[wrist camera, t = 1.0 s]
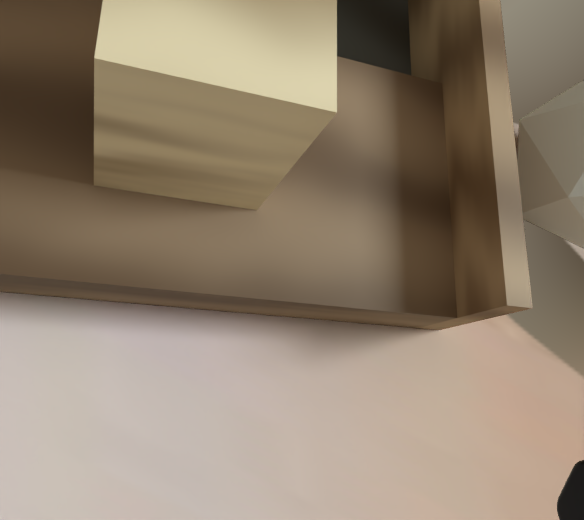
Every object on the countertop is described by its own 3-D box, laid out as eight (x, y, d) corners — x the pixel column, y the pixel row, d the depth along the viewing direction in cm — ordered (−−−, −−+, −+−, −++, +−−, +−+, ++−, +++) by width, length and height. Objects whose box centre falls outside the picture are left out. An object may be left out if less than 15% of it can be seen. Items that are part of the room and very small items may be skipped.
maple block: (257, 210, 21) (337, 112, 14) (93, 185, 19) (94, 58, 12) (264, 37, 23) (337, -120, 16) (119, -1, 21) (132, -197, 14)
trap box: (439, 329, 26) (532, 308, 20) (-253, 269, 17) (-412, 204, 12) (418, -59, 32) (483, -154, 27) (-90, -239, 24) (-143, -430, 19)
